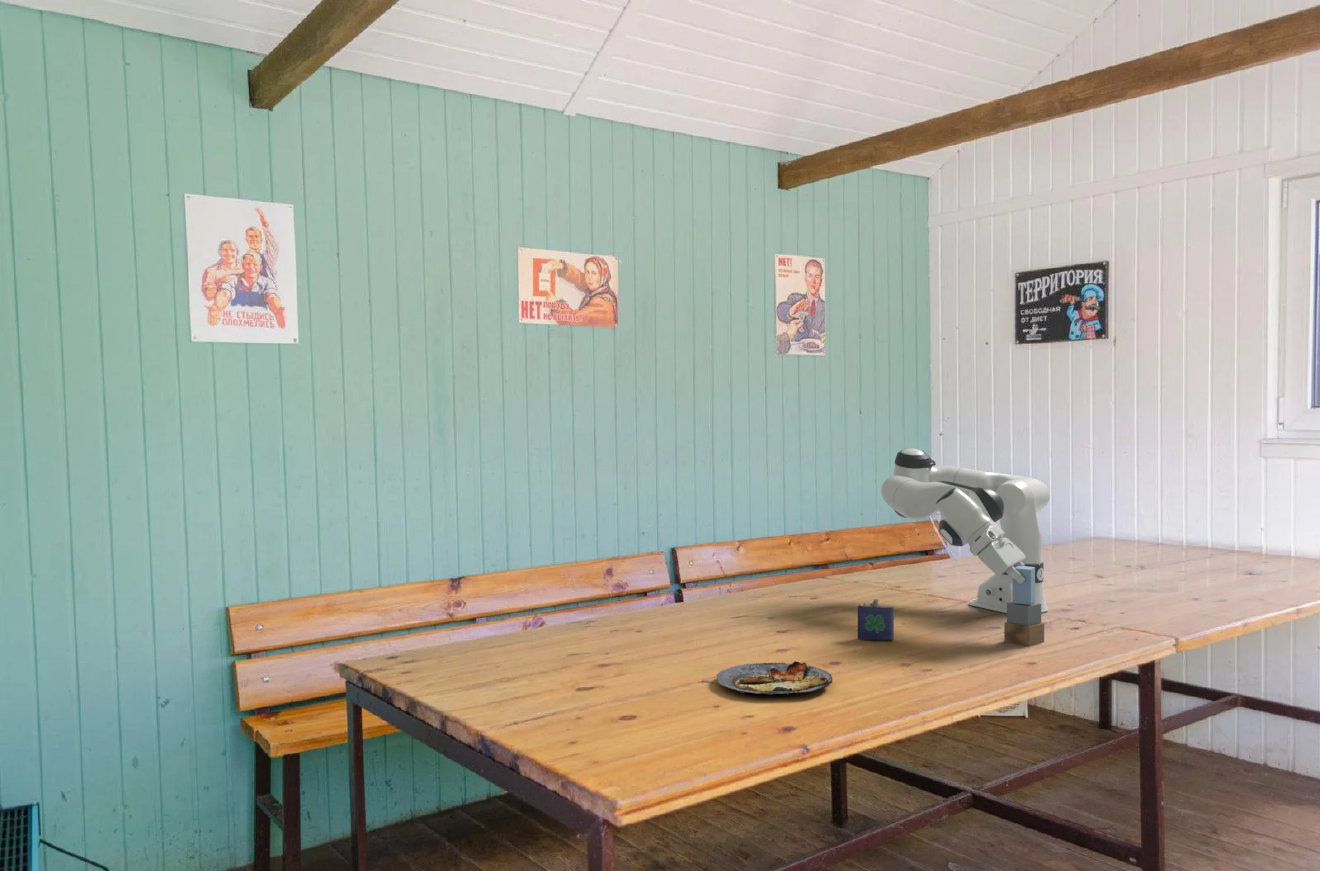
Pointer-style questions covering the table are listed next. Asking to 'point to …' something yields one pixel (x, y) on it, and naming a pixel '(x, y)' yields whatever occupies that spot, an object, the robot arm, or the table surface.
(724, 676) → the food plate
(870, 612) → the flask
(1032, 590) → the pillar
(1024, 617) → the tower middle
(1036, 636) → the tower base
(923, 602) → the table surface
